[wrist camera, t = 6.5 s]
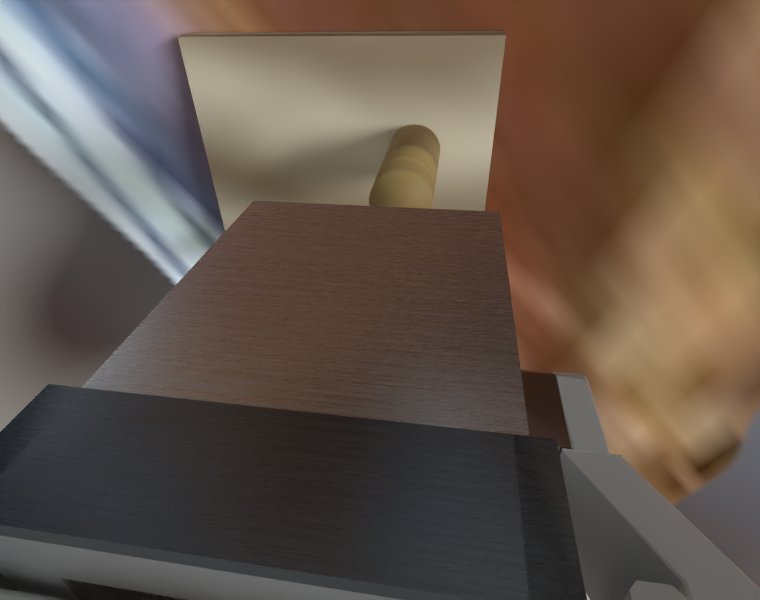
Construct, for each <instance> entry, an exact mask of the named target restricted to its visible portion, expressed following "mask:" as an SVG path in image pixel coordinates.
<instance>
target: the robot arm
mask: <svg viewBox="0 0 760 600" xmlns="http://www.w3.org/2000/svg"><path fill="white" fill-rule="evenodd" d="M521 376H522V384H523V392H524V399H525V407H526V414H527V422H528V429H529V436H535V437H544V438H554V439H557V444H558V449H559V455H560V460H561V465H562V471H563V476H564V481H565V486H566V492H567V497H568V502H569V508H570V513H571V518H572V523H573V529H574V534H575V539H576V545H577V550H578V555H579V561H580V566H581V571H582V576H583V582H584V587H585V592H586V593H587V595H588V596H589V598H590V599H591V600H760V588H759V587H758V586H757V585H755V584H754V583H753V582H752V581H751V580H750V579H749V578H748V577H747V576H746V575H745V574H744V573H743V572H742V571H741V570H740V569H739V568H738V567H736V565H735V564H734V563H732V562H731V561H730V560H729V559H728V558H727V557H726V556H725V555H724V554H723V553H722V552H721V551H720V550H719V549H718V548H717V547H716V546H715V545H714V544H713V543H712V542H710V541H709V540H708V539H707V538H706V537H705V536H704V535H703V534H702V533H701V532H700V531H699V530H698V529H697V528H696V527H695V526H694V525H693V524H692V523H691V522H690V521H688V520H687V519H686V518H685V517H684V516H683V515H682V514H681V513H680V512H679V511H678V510H677V509H676V508H675V507H674V506H673V505H672V504H671V503H670V502H669V501H668V500H667V499H666V498H664V497H663V496H662V495H661V494H660V493H659V492H658V491H657V490H656V489H655V488H654V487H653V486H652V485H651V484H650V483H649V482H648V481H647V480H646V479H645V478H644V477H642V476H641V475H640V474H639V473H638V472H637V471H636V470H635V469H634V468H633V467H632V466H631V465H630V464H629V463H628V462H627V461H626V460H625V459H624V458H623V457H622V456H621V455H616V454H610V452H609V449H608V446H607V442H606V439H605V436H604V432H603V429H602V426H601V422H600V419H599V416H598V412H597V409H596V406H595V402H594V399H593V396H592V392H591V389H590V386H589V382H588V379H587V378H586V377H585V375H584V374H574V373H561V372H553V373H551V372H544V371H532V370H521ZM0 600H67V599H61V598H56V597H50V596H44V595H39V594H33V593H27V592H22V591H16V590H10V589H5V588H2V587H1V586H0Z"/></svg>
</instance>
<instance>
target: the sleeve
mask: <svg viewBox="0 0 760 600" xmlns="http://www.w3.org/2000/svg"><path fill="white" fill-rule="evenodd" d="M0 586H1V587H2V588H5V589H10V590H16V591H22V592H27V593H33V594H39V595H44V596H50V597H56V598H61V599H67V600H587V598H586V592H585V587H584V582H583V576H582V571H581V566H580V561H579V555H578V550H577V545H576V539H575V534H574V529H573V523H572V518H571V513H570V508H569V502H568V497H567V492H566V486H565V481H564V476H563V471H562V465H561V460H560V455H559V449H558V444H557V439H554V438H544V437H535V436H529V429H528V422H527V414H526V407H525V399H524V392H523V384H522V376H521V369H520V361H519V354H518V346H517V339H516V331H515V323H514V316H513V308H512V301H511V293H510V286H509V278H508V270H507V263H506V255H505V248H504V240H503V233H502V225H501V217H500V212H495V211H473V210H451V209H428V208H406V207H383V206H361V205H339V204H316V203H294V202H272V201H253V202H252V203H251V204H250V205H249V206H248V207H247V208H246V209H245V211H244V212H243V213H242V214H241V215H240V216H239V217H238V218H237V219H236V220H235V221H234V222H233V224H232V225H231V226H230V227H229V228H228V229H227V230H226V231H225V232H224V233H223V234H222V236H221V237H220V238H219V239H218V240H217V241H216V242H215V243H214V244H213V245H212V246H211V248H210V249H209V250H208V251H207V252H206V253H205V254H204V255H203V256H202V257H201V258H200V260H199V261H198V262H197V263H196V264H195V265H194V266H193V267H192V268H191V269H190V270H189V272H188V273H187V274H186V275H185V276H184V277H183V278H182V279H181V280H180V281H179V282H178V284H177V285H176V286H175V287H174V288H173V289H172V290H171V291H170V292H169V293H168V295H167V296H166V297H165V298H164V299H163V300H162V301H161V302H160V303H159V304H158V305H157V307H156V308H155V309H154V310H153V311H152V312H151V313H150V314H149V315H148V316H147V317H146V318H145V319H144V321H143V322H142V323H141V324H140V325H139V326H138V327H137V328H136V329H135V331H134V332H133V333H132V334H131V335H130V336H129V337H128V338H127V339H126V340H125V341H124V342H123V344H122V345H121V346H120V347H119V348H118V349H117V350H116V351H115V352H114V353H113V354H112V355H111V357H110V358H109V359H108V360H107V361H106V362H105V363H104V364H103V365H102V366H101V367H100V369H99V370H98V371H97V372H96V373H95V374H94V375H93V376H92V377H91V378H90V379H89V381H88V382H87V383H86V384H85V385H84V386H83V387H82V388H80V387H70V386H62V385H53V384H48V385H47V386H46V387H45V388H44V389H43V390H42V391H41V392H40V393H39V394H38V395H37V396H36V397H35V398H34V399H33V400H32V401H31V402H30V403H29V404H28V405H27V406H26V407H25V408H24V409H23V410H22V411H21V412H20V413H19V414H18V415H17V416H16V417H15V418H14V419H13V420H12V421H11V422H10V423H9V424H8V425H7V426H6V427H5V428H4V429H3V430H2V431H1V432H0Z"/></svg>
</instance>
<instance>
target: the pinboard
mask: <svg viewBox="0 0 760 600" xmlns="http://www.w3.org/2000/svg"><path fill="white" fill-rule="evenodd" d="M505 39H506V35H505V32H504V31H403V32H228V33H190V34H186V35H182V36H179V37H178V41H179V45H180V49H181V53H182V57H183V61H184V65H185V69H186V73H187V77H188V82H189V86H190V90H191V94H192V98H193V102H194V106H195V110H196V114H197V118H198V122H199V126H200V131H201V135H202V139H203V143H204V147H205V151H206V155H207V159H208V163H209V167H210V171H211V176H212V180H213V184H214V188H215V192H216V196H217V200H218V204H219V208H220V212H221V216H222V221H223V225H224V229H225V231H226V230H227V229H228V228H229V227H230V226H231V225H232V224H233V222H234V221H235V220H236V219H237V218H238V217H239V216H240V215H241V214H242V213H243V212H244V211H245V209H246V208H247V207H248V206H249V205H250V204H251V203H252V202H253V201H272V202H294V203H316V204H339V205H361V206H383V207H406V208H428V209H451V210H473V211H485V203H486V195H487V187H488V178H489V170H490V162H491V154H492V146H493V137H494V129H495V121H496V113H497V104H498V96H499V88H500V80H501V71H502V63H503V55H504V47H505Z"/></svg>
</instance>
